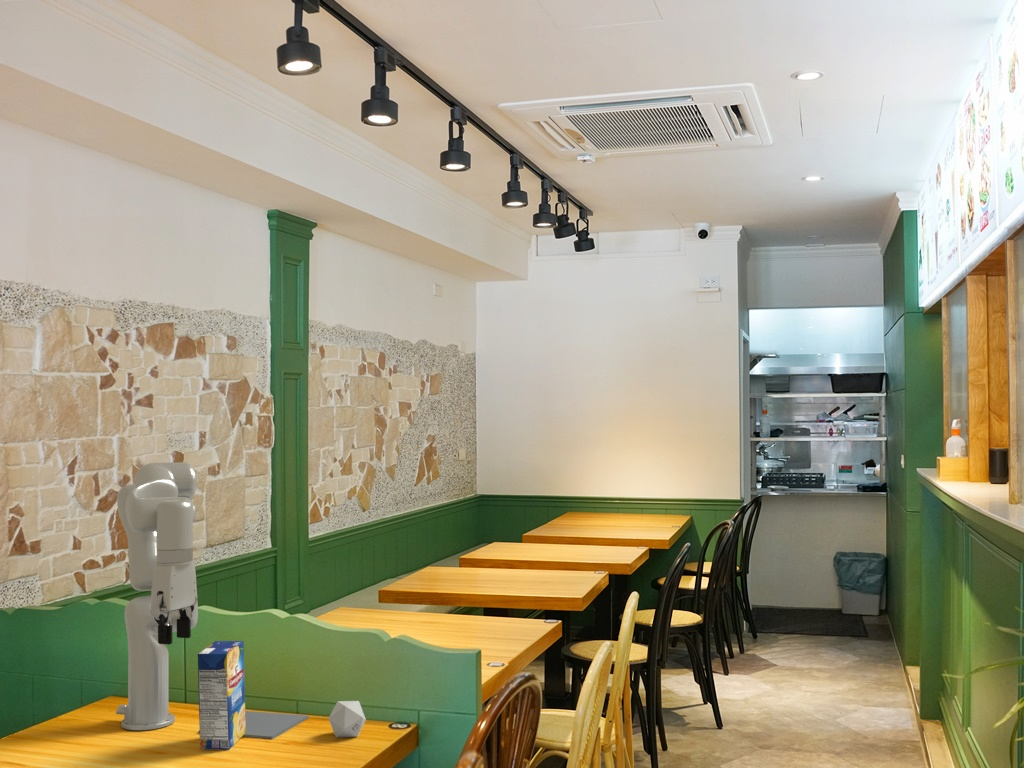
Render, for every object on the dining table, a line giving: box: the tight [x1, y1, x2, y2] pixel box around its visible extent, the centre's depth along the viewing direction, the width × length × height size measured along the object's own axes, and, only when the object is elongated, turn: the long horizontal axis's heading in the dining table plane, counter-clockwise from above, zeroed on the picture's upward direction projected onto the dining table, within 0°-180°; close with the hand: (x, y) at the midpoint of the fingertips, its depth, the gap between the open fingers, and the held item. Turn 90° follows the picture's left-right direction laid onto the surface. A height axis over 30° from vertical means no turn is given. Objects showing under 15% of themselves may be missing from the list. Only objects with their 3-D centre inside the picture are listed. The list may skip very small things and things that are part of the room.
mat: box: [198, 710, 309, 740], centre depth 246 cm, size 20×18×1 cm
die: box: [328, 700, 367, 738], centre depth 237 cm, size 8×9×10 cm
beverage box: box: [197, 640, 246, 751], centre depth 233 cm, size 7×11×22 cm, turn 175°
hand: (174, 639), depth 216 cm, fingers open, 5 cm apart
